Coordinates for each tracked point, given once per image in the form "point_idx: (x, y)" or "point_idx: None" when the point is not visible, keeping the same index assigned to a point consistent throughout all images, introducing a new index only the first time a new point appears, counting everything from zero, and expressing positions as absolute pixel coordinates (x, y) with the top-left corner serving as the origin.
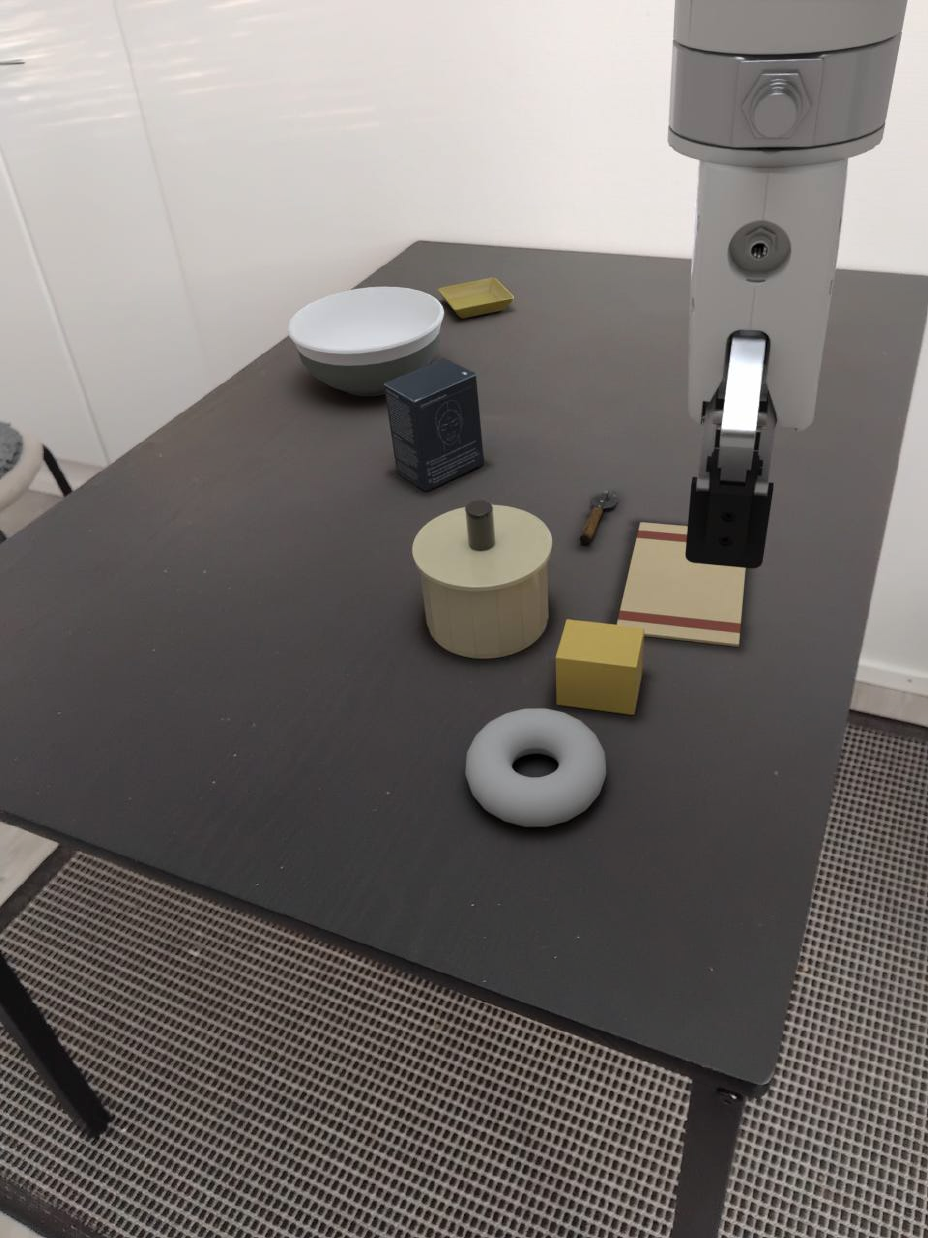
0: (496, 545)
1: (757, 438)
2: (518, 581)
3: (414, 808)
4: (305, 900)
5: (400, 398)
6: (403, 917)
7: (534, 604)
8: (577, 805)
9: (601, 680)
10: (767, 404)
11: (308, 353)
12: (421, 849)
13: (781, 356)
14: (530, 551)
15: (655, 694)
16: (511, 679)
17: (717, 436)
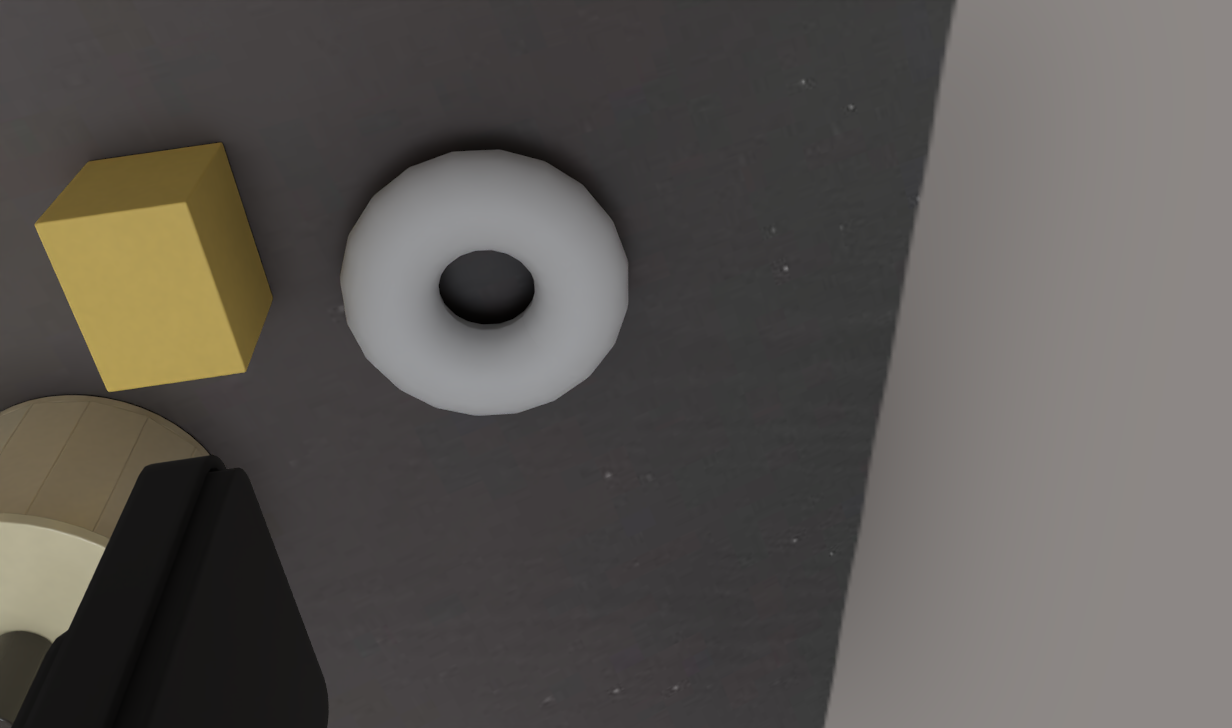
0: (12, 626)
1: (243, 556)
2: (105, 541)
3: (625, 426)
4: (841, 487)
5: None
6: (836, 354)
7: (76, 462)
8: (567, 184)
9: (225, 252)
10: (165, 722)
11: None
12: (703, 382)
13: None
14: None
15: (131, 114)
16: (247, 400)
17: (308, 715)
